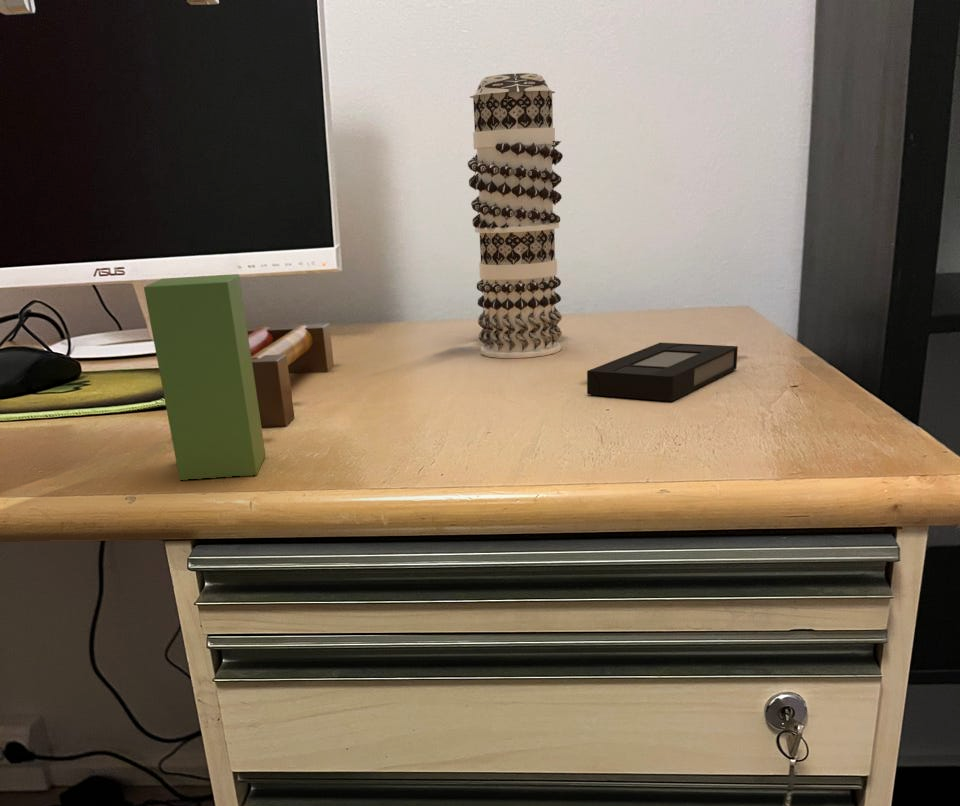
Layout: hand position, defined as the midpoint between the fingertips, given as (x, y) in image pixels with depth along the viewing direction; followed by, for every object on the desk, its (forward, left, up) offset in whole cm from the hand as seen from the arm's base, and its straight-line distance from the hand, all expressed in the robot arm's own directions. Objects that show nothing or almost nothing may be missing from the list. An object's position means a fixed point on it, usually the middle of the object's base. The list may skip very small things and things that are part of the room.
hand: (110, 8), depth 51 cm
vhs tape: (+16, +40, -26) cm, 50 cm away
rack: (-14, +23, -26) cm, 37 cm away
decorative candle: (-4, +51, -26) cm, 57 cm away
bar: (-2, +5, -26) cm, 26 cm away
